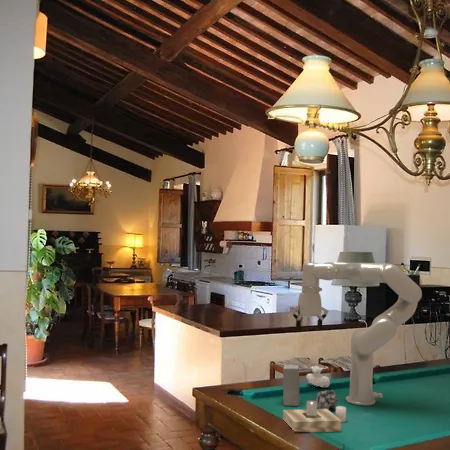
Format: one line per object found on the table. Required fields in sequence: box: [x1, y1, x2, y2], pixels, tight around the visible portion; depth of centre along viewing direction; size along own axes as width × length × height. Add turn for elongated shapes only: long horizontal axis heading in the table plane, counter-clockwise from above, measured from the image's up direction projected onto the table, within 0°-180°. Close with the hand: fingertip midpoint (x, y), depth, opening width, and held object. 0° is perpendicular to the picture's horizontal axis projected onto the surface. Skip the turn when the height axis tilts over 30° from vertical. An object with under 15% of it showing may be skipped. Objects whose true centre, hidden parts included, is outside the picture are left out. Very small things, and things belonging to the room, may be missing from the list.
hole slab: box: [282, 408, 342, 433], centre depth 219 cm, size 18×14×4 cm
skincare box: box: [282, 364, 300, 407], centre depth 247 cm, size 8×7×16 cm
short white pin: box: [335, 405, 347, 423], centre depth 227 cm, size 4×4×5 cm
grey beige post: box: [305, 400, 318, 418], centre depth 219 cm, size 4×4×9 cm
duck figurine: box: [306, 365, 331, 388], centre depth 274 cm, size 12×8×11 cm
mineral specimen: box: [315, 389, 339, 410], centre depth 239 cm, size 12×9×10 cm
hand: (309, 329), depth 257 cm, fingers open, 9 cm apart
